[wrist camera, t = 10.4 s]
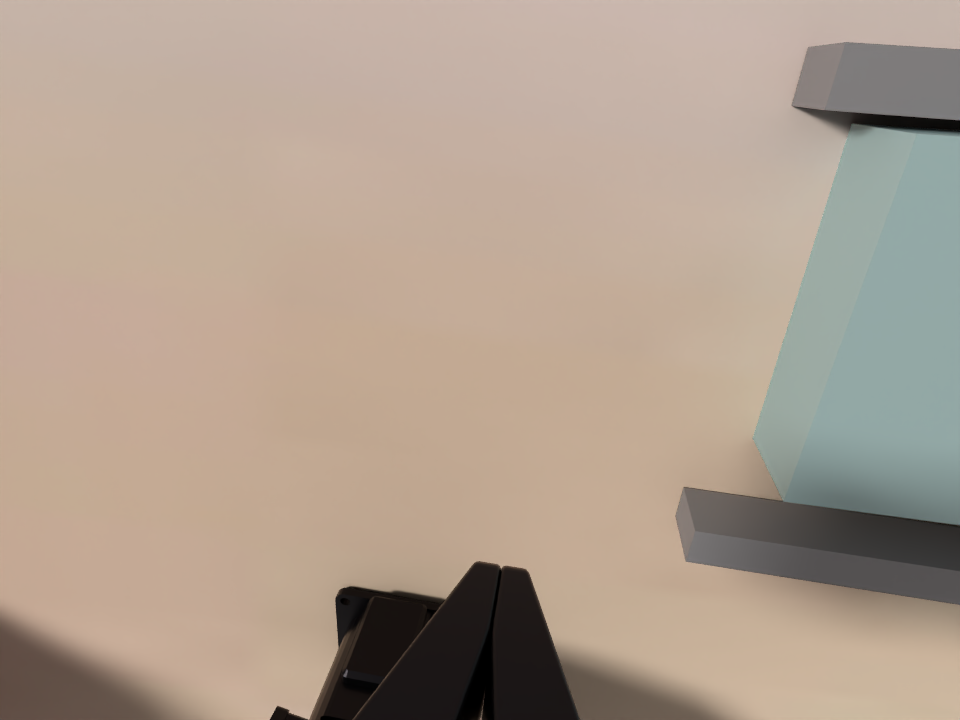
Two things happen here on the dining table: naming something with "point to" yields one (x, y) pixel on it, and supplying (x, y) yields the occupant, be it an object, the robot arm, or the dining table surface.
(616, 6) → the dining table surface
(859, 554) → the bracket
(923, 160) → the teal carton
